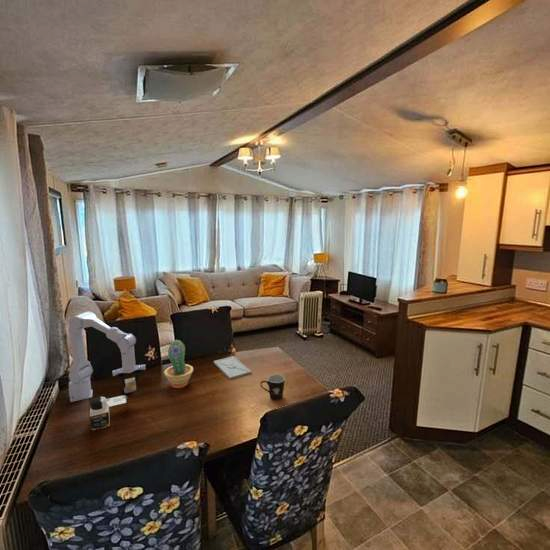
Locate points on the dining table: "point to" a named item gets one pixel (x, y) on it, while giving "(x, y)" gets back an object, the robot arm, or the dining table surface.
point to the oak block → (130, 384)
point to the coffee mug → (275, 386)
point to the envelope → (232, 367)
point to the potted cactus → (178, 365)
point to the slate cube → (125, 390)
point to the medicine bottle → (99, 413)
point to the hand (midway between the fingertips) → (130, 385)
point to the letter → (116, 400)
